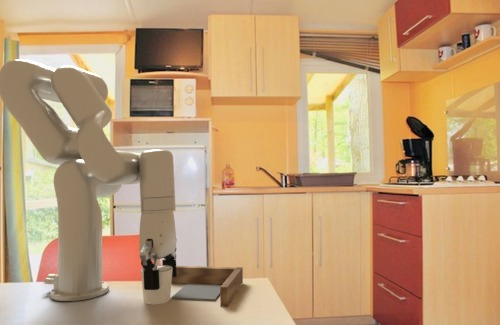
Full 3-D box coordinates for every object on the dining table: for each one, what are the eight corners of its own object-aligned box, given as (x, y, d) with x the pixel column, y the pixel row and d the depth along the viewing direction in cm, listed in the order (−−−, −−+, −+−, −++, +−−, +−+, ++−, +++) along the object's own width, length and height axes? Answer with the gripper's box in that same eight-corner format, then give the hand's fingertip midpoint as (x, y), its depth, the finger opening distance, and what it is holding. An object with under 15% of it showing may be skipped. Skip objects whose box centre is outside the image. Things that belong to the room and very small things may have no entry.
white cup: (164, 306, 78) (164, 272, 79) (134, 304, 80) (134, 271, 80) (177, 295, 85) (177, 265, 85) (149, 294, 86) (149, 263, 87)
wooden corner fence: (142, 302, 81) (142, 283, 81) (171, 280, 98) (171, 265, 98) (227, 306, 78) (227, 287, 78) (242, 283, 94) (242, 267, 95)
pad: (171, 298, 83) (171, 297, 83) (186, 285, 93) (186, 284, 93) (214, 301, 81) (214, 299, 81) (225, 287, 91) (225, 285, 91)
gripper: (158, 203, 92) (161, 273, 91) (123, 209, 75) (126, 295, 74) (187, 202, 91) (190, 272, 90) (158, 207, 74) (161, 295, 73)
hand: (161, 282), depth 82 cm, fingers open, 9 cm apart
